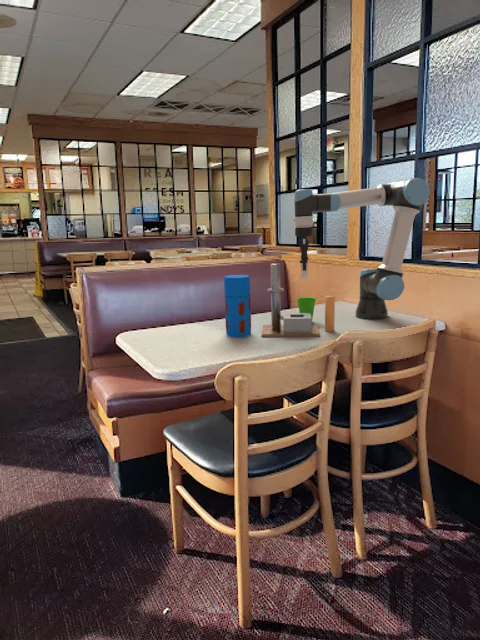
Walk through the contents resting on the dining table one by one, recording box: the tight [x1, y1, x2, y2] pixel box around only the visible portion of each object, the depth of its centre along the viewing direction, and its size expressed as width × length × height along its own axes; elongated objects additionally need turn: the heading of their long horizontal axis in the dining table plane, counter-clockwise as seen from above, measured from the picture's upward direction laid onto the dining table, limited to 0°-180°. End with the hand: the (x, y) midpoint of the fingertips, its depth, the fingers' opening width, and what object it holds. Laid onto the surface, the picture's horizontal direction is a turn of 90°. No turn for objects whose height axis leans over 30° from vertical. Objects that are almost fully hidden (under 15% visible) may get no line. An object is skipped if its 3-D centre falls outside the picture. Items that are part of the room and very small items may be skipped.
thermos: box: [223, 274, 252, 338], centre depth 206 cm, size 11×11×25 cm
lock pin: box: [324, 295, 336, 333], centre depth 208 cm, size 4×4×15 cm
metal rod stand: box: [261, 263, 321, 338], centre depth 208 cm, size 24×18×29 cm
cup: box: [296, 296, 317, 319], centre depth 228 cm, size 9×9×11 cm
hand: (304, 276), depth 213 cm, fingers open, 13 cm apart
